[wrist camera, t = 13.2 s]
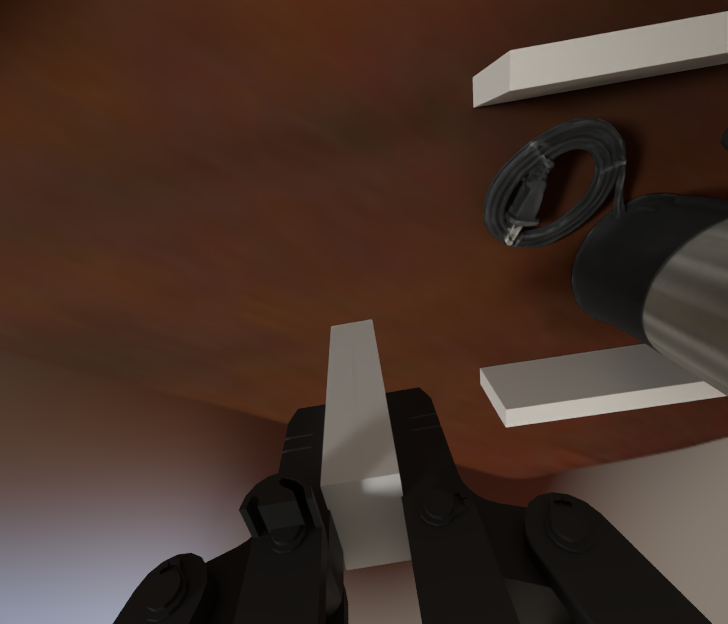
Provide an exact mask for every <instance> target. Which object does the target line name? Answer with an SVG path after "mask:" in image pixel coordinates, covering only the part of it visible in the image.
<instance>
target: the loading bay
mask: <svg viewBox="0 0 728 624" xmlns="http://www.w3.org/2000/svg"><path fill="white" fill-rule="evenodd" d="M726 63H728V11H726V12H720V13H715V14H709V15H704V16H698V17H693V18H687V19H681V20H676V21H670V22H665V23H659V24H654V25H648V26H643V27H637V28H632V29H626V30H621V31H615V32H610V33H604V34H599V35H593V36H587V37H582V38H576V39H571V40H565V41H560V42H554V43H549V44H543V45H538V46H532V47H527V48H521V49H516V50H510V51H509V52H507V53H506V54H505V55H503V56H502V57H500V58H499V59H498V60H496V61H495V62H493V63H492V64H491V65H489V66H488V67H487V68H485V69H484V70H482V71H481V72H480V73H478V74H477V75H475V76H474V77H473V106H474V108H475V107H481V106H487V105H492V104H498V103H504V102H509V101H515V100H521V99H527V98H532V97H538V96H544V95H549V94H555V93H561V92H566V91H572V90H578V89H583V88H589V87H595V86H601V85H606V84H612V83H618V82H623V81H629V80H635V79H640V78H646V77H652V76H658V75H663V74H669V73H675V72H680V71H686V70H692V69H697V68H703V67H709V66H714V65H720V64H726ZM480 384H481V385H482V387H483V389H484V391H485V392H486V394H487V396H488V397H489V399H490V401H491V403H492V404H493V406H494V408H495V410H496V411H497V413H498V415H499V416H500V418H501V420H502V422H503V423H504V425H505V427H512V426H519V425H526V424H533V423H540V422H547V421H554V420H561V419H568V418H575V417H582V416H590V415H597V414H604V413H611V412H618V411H625V410H632V409H639V408H646V407H653V406H660V405H667V404H674V403H681V402H688V401H695V400H702V399H709V398H716V397H723V396H726V395H725V394H723V393H722V392H720V391H718V390H717V389H715V388H714V387H712V386H711V385H709V384H707V383H706V382H704V381H703V380H701V379H700V378H698V377H696V376H695V375H693V374H692V373H690V372H689V371H687V370H686V369H684V368H682V367H681V366H679V365H678V364H676V363H675V362H673V361H672V360H670V359H669V358H667V357H665V356H664V355H662V354H660V353H658V352H657V351H655V350H654V349H653V348H651V347H649V346H648V345H646V344H638V345H631V346H625V347H618V348H611V349H605V350H598V351H591V352H584V353H578V354H571V355H564V356H558V357H551V358H544V359H537V360H531V361H524V362H517V363H510V364H504V365H497V366H490V367H484V368H480Z"/></svg>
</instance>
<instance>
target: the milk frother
mask: <svg viewBox="0 0 728 624" xmlns="http://www.w3.org/2000/svg"><path fill="white" fill-rule="evenodd" d="M721 144H722V145H723V146H724V148H725V149H727V150H728V128H727V130H726V131H725V132H724V134H723V136H722V139H721ZM574 149H582V150H586V151H589V153H590V154H591V156H592V157H593V159H594V164H595V173H594V177H593V180H592V182H591V185H590V187H589V189H588V191H587V192H586V193H585V195H584V196H583V198H582V199H581V200H580V201H579V202H578V203H577V204H576V205H575V206H574V207H573V208H572V209H571V210H570V211H569V212H567V213H566V214H565V215H563V216H562V217H560V218H559V219H557V220H556V221H554V222H552V223H550V224H548V225H546V226H543V227H540V228H537V229H533V230H526V231H520V230H521V229H522V228H523V227H524V226H526V227H527V226H537V225H538V224H539V222H540V221H539V219H538V218H537V217H536V215H537V213H538V211H539V208H540V206H541V202H542V199H543V194H544V191H545V189H546V187H547V186H548V183H547V181H546V178H547V176H548V174H549V172H550V170H551V169H552V168H553V167H554V165H555V163H554V162H553V160H554V159H555V158H556V157H557V156H559V155H561V154H562V153H565V152H567V151H570V150H574ZM626 161H627V160H626V146H625V142H624V140H623V138H622V137H621V135H620V134H619V133H618V131H617V130H616V129H615V128H614V127H613V126H612V125H611V124H610V123H609V122H607V121H604V120H602V119H599V118H592V117H584V118H577V119H572V120H568V121H566V122H563V123H561V124H559V125H556V126H555V127H553V128H551V129H549V130H547V131H546V132H544V133H542V134H541V135H539V136H537V137H536V138H534V139H533V140H531V141H530V142H529V143H527V144H526V145H525V146H524V147H522V148H521V149H520V150H519V151H517V152H516V153H515V154H514V155H513V156H512V157H511V158H510V159H509V160H508V161H507V162H506V163H505V164H504V165H503V166H502V168H501V169H500V170H499V172H498V173H497V174H496V176H495V177H494V179H493V181H492V182H491V184H490V186H489V188H488V190H487V193H486V197H485V200H484V205H483V217H484V222H485V225H486V227H487V229H488V230H489V232H490V233H491V234H492V235H493V236H494V237H495V238H496V239H498V240H499V241H500V242H502V243H503V244H505V245H511V246H513V247H521V248H534V247H540V246H544V245H548V244H550V243H553V242H554V241H556V240H557V239H560V238H561V237H563V236H565V235H567V234H568V233H570V232H572V231H574V230H575V229H577V228H578V227H579V226H580V225H582V224H583V223H584V222H585V221H586V220H588V219H589V218H590V217H591V216H592V215H593V214H594V213H595V212H596V210H597V209H598V208H599V207H600V206H601V205H602V203H603V202H604V201H605V199H606V198H607V196H608V194H609V193H610V191H611V190H612V188H613V186H614V185H615V183H616V186H615V195H614V201H613V210H612V211H611V212H610V213H608V214H607V215H606V216H605V217H603V218H602V219H601V220H600V221H599V222H598V223H597V224H596V225H595V226H594V227H593V229H592V230H591V231H590V232H589V233H588V235H587V236H586V238H585V240H584V242H583V243H582V245H581V247H580V248H579V250H578V253H577V255H576V258H575V261H574V265H573V269H572V288H573V291H574V296H575V298H576V300H577V302H578V304H579V305H580V307H581V308H582V309H583V310H584V311H585V312H586V313H588V314H589V315H591V316H592V317H594V318H596V319H598V320H600V321H603V322H608V323H611V324H612V325H614V326H616V327H618V328H619V329H621V330H623V331H624V332H626V333H628V334H629V335H631V336H633V337H635V338H636V339H638V340H640V341H641V342H643V343H645V344H646V345H648V346H649V347H651V348H653V349H654V350H655V351H657V352H658V353H660V354H662V355H664V356H665V357H667V358H669V359H670V360H672V361H673V362H675V363H676V364H678V365H679V366H681V367H682V368H684V369H686V370H687V371H689V372H690V373H692V374H693V375H695V376H696V377H698V378H700V379H701V380H703V381H704V382H706V383H707V384H709V385H711V386H712V387H714V388H715V389H717V390H718V391H720V392H722V393H723V394H725V395H726V396H728V200H726V199H718V198H710V197H702V196H692V195H681V196H680V195H675V194H670V193H658V194H649V195H645V196H641V197H638V198H635V199H632V200H631V201H629V202H625V203H624V201H623V187H624V179H625V175H626Z"/></svg>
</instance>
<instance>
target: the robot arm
mask: <svg viewBox="0 0 728 624" xmlns="http://www.w3.org/2000/svg"><path fill="white" fill-rule="evenodd" d="M239 511H240V513H241V515H242V517H243V519H244V521H245V523H246V525H247V527H248V529H249V531H250V533H251V535H252V537H251V538H250V539H249V540H247V541H246V542H244V543H243V544H241V545H239V546H238V547H236V548H234V549H232V550H230V551H228V552H226V553H224V554H222V555H220V556H218V557H216V558H214V559H212V560H210V561H208V562H206V563H205V562H204V561H203V559H202V557H200V556H197V555H195V554H192V553H187V554H179V555H176V556H174V557H172V558H170V559H168V560H166V561H164V562H162V563H161V564H160V565H159V566H157V567H156V568H155V569H154V570H152V571H151V572H150V573H149V574H148V575H147V576H146V577H145V579H144V580H143V581H142V582H141V583H140V585H139V586H138V587H137V588H136V590H135V591H134V592H133V594H132V595H131V597H130V598H129V600H128V601H127V603H126V604H125V606H124V608H123V609H122V611H121V612H120V614H119V615H118V617H117V618H116V620H115V621H114V623H113V624H348V600H347V595H346V589H345V586H344V583H343V582H344V581H343V580H344V579H343V578H344V576H343V572H344V571H343V570H344V568H343V559H344V562H345V566H346V569H347V570H351V569H357V568H363V567H370V566H376V565H382V564H389V563H395V562H401V561H407V560H412V565H413V571H414V577H415V583H416V589H417V595H418V600H419V607H420V613H421V618H422V624H712V623H711V622H710V621H709V620H708V619H707V618H706V617H705V616H704V615H703V614H702V613H701V612H700V611H699V610H698V609H697V608H696V607H695V606H694V605H693V604H692V603H691V602H690V601H689V600H688V599H687V598H686V597H685V596H683V594H682V593H681V592H680V591H679V590H677V588H675V586H674V585H673V584H672V583H671V582H670V581H668V579H666V578H665V577H664V576H663V575H662V574H661V573H660V572H659V571H658V570H657V569H656V568H655V567H654V566H653V565H652V564H651V563H650V562H649V561H648V560H647V559H646V558H645V557H644V556H643V555H642V554H641V553H640V552H639V551H638V550H637V549H636V548H635V547H634V546H633V545H632V544H631V543H630V542H629V541H628V540H627V539H626V538H625V537H624V536H623V535H622V534H621V533H620V532H619V531H618V530H617V529H616V528H615V527H614V526H613V525H611V523H610V522H609V521H608V520H607V519H606V518H605V517H604V516H603V515H602V514H601V513H599V512H598V511H596V510H595V509H594V508H593V507H591V506H590V505H589V504H588V503H586V502H585V501H582V500H580V499H578V498H575V497H573V496H571V495H568V494H560V493H553V492H552V493H547V494H542V495H538V496H537V497H536V498H534V499H533V500H532V501H530V502H529V504H528V506H527V508H526V507H519V506H513V505H506V504H500V503H496V502H492V501H488V500H486V499H484V498H482V497H479V496H478V495H476V494H475V493H474V492H472V491H471V490H470V489H469V488H468V487H467V486H466V485H465V484H464V483H463V481H462V480H461V478H460V476H459V474H458V472H457V469H456V466H455V463H454V461H453V458H452V455H451V452H450V450H449V447H448V444H447V441H446V439H445V436H444V433H443V430H442V427H441V426H440V422H439V419H438V416H437V415H436V411H435V408H434V405H433V403H432V400H431V398H430V397H429V396H428V395H427V394H426V393H425V392H424V391H423V390H422V389H421V388H413V389H407V390H401V391H395V392H389V393H385V390H384V384H383V378H382V373H381V367H380V362H379V356H378V350H377V345H376V339H375V333H374V328H373V322H372V319H371V320H365V321H359V322H354V323H348V324H342V325H336V326H331V335H330V350H329V365H328V380H327V395H326V404H325V405H319V406H313V407H307V408H301V409H298V410H297V411H296V413H295V414H294V416H293V417H292V419H291V420H290V422H289V423H288V428H287V433H286V441H285V443H284V448H283V454H282V458H281V463H280V468H279V473H278V474H275V475H272V476H269V477H267V478H265V479H264V480H262V481H261V482H260V483H258V484H256V485H255V486H254V487H253V489H252V490H251V491H250V492H249V493H248V494H247V495H246V497H245V498H244V501H243V503H242V505H241V507H240V509H239Z"/></svg>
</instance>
